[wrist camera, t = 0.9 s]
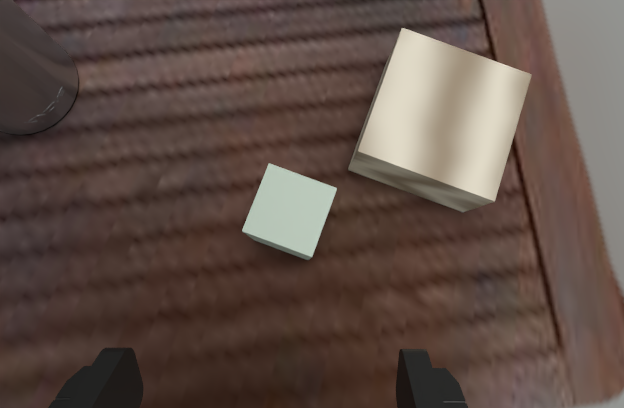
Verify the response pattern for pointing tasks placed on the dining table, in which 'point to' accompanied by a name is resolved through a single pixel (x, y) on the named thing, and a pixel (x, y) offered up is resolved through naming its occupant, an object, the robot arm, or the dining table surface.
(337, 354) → the dining table surface
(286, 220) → the sage block
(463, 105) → the birch block
